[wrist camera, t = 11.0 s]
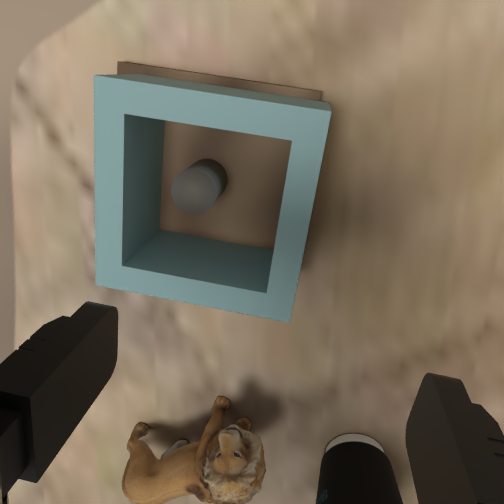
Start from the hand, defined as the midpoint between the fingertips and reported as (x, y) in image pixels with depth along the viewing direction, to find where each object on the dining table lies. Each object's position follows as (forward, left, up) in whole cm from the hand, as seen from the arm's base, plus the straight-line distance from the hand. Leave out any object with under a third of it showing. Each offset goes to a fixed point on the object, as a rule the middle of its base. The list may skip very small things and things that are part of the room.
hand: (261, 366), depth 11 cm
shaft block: (+6, 0, -18) cm, 19 cm away
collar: (+5, 0, -17) cm, 18 cm away
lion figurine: (+4, +20, -18) cm, 28 cm away
